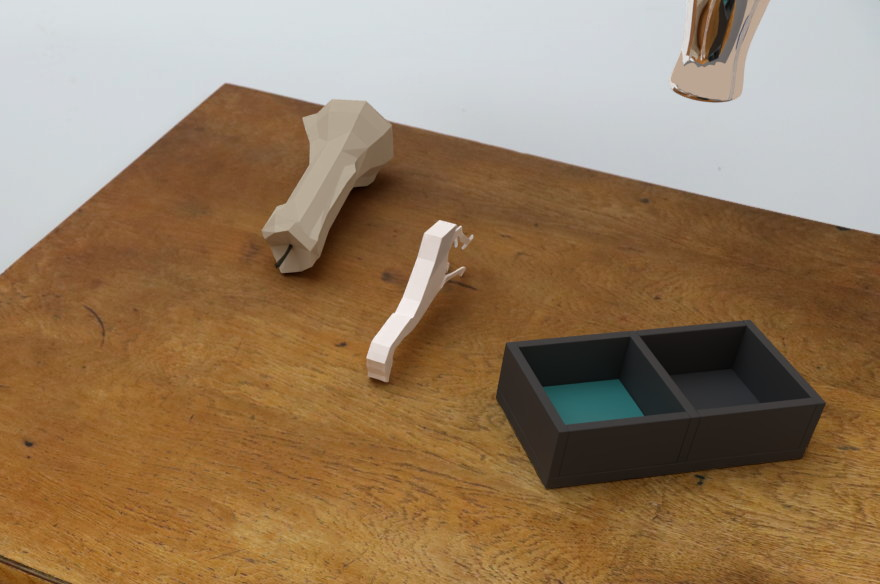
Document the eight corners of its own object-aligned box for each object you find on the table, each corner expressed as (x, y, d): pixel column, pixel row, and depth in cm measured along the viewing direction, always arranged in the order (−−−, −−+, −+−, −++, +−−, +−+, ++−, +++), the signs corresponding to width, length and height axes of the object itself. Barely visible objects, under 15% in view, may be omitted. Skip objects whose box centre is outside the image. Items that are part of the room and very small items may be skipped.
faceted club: (411, 163, 108) (339, 307, 90) (330, 169, 111) (244, 309, 93) (394, 77, 103) (314, 211, 85) (310, 87, 106) (215, 218, 88)
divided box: (731, 373, 85) (750, 319, 82) (803, 458, 77) (826, 402, 74) (495, 397, 81) (505, 342, 78) (545, 489, 74) (559, 432, 70)
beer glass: (764, 94, 94) (817, -92, 85) (710, 111, 91) (759, -80, 82) (699, 67, 99) (743, -112, 90) (645, 83, 96) (685, -101, 87)
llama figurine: (427, 341, 97) (358, 381, 81) (458, 214, 94) (392, 229, 77) (447, 347, 96) (381, 388, 80) (479, 219, 93) (417, 236, 77)
